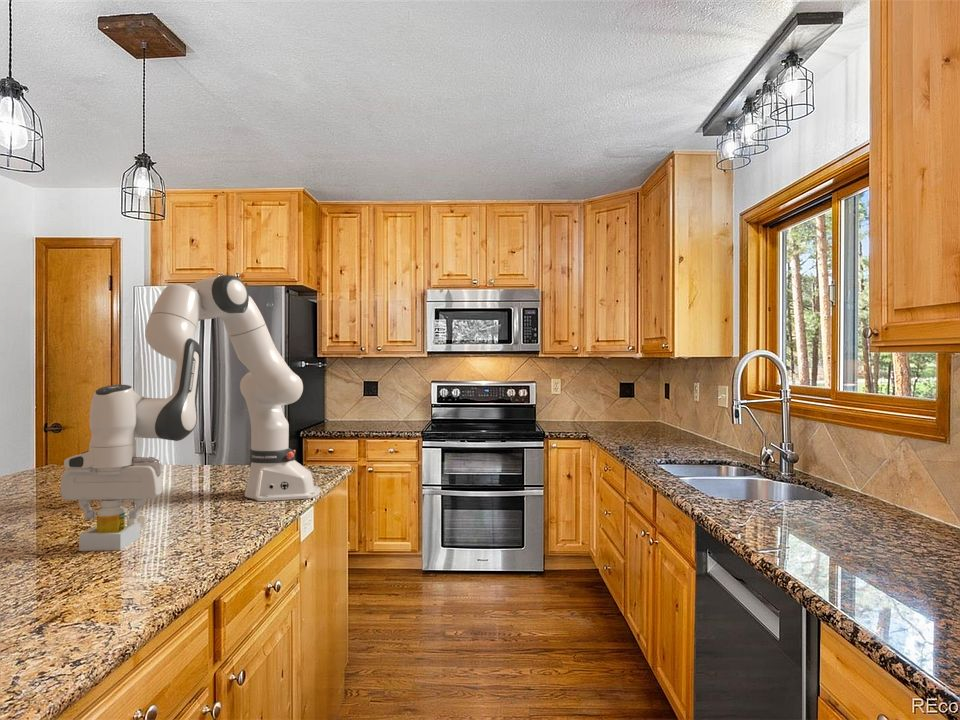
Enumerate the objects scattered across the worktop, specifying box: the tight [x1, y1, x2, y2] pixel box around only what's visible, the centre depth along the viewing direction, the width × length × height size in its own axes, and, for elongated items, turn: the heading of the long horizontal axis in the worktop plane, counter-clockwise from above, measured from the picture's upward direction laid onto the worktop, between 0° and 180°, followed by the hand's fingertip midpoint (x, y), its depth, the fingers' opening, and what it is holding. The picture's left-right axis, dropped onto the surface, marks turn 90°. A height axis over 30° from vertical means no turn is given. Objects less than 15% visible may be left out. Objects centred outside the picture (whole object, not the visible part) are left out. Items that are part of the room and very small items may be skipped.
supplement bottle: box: [96, 499, 126, 533], centre depth 126 cm, size 5×5×10 cm
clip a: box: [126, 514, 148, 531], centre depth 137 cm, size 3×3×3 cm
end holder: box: [78, 523, 141, 552], centre depth 126 cm, size 8×8×4 cm
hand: (112, 518), depth 126 cm, fingers open, 8 cm apart
